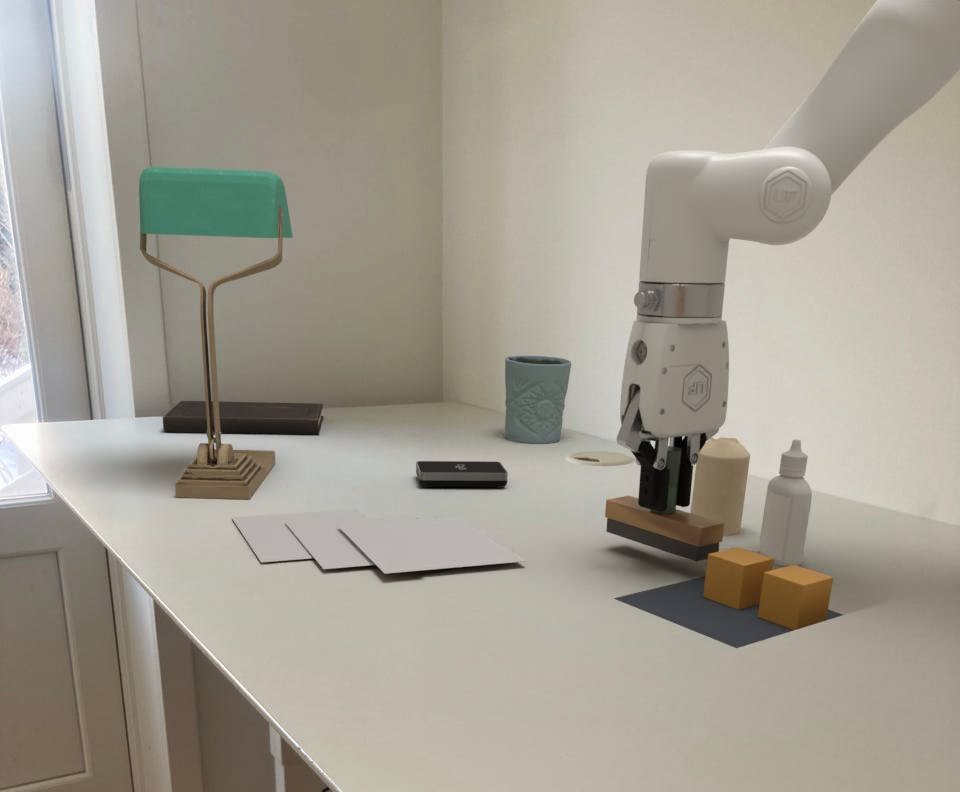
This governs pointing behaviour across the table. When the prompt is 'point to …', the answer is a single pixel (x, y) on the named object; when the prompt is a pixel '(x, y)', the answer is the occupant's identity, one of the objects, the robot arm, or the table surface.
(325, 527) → the paper stack
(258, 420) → the hardcover book
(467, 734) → the table surface
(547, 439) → the embossed green cup
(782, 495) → the eye dropper bottle
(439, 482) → the external hard drive
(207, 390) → the banker's lamp
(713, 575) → the cube
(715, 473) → the candle
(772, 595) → the cube
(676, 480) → the brush
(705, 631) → the mat
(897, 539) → the table surface
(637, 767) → the table surface
